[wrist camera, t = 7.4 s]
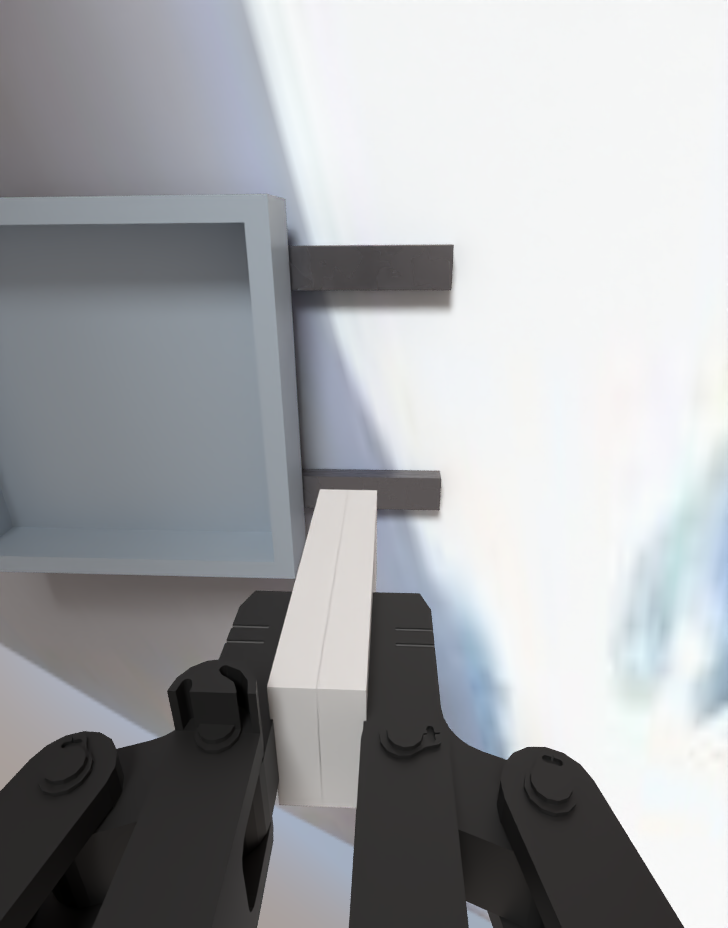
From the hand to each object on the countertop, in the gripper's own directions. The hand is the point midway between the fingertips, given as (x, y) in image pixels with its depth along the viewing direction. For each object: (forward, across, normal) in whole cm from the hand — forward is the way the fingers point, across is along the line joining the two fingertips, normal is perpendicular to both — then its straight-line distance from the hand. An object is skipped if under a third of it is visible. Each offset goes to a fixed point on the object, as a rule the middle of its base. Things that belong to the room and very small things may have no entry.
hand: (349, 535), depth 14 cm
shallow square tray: (+15, -13, 0) cm, 19 cm away
